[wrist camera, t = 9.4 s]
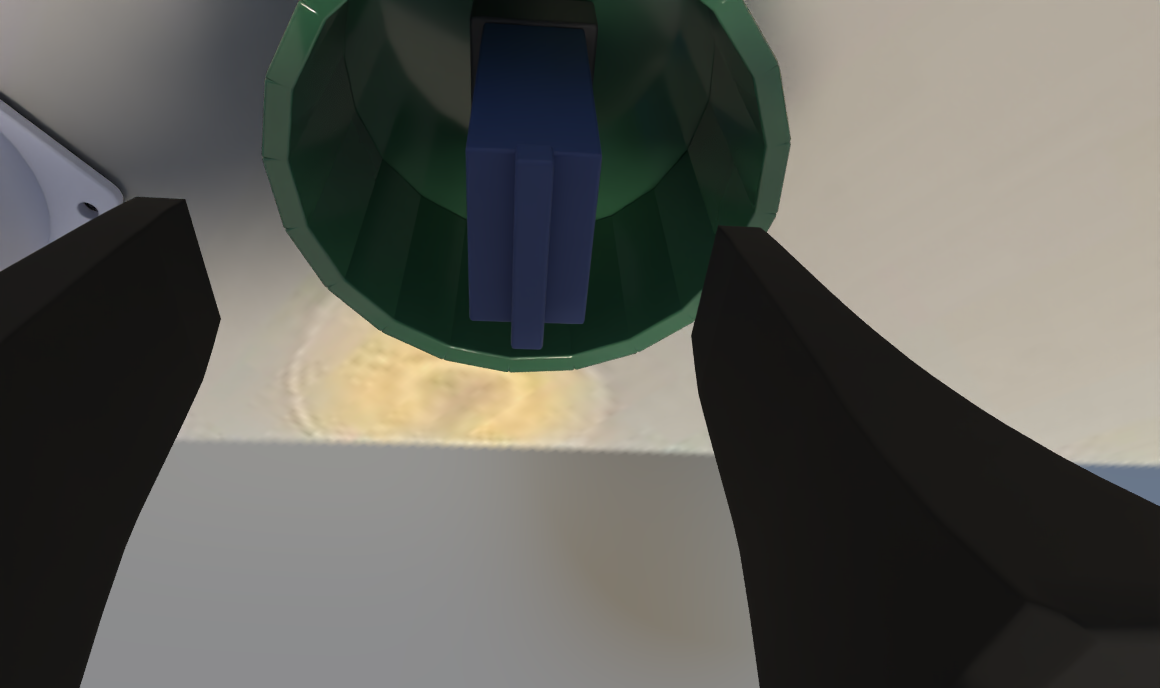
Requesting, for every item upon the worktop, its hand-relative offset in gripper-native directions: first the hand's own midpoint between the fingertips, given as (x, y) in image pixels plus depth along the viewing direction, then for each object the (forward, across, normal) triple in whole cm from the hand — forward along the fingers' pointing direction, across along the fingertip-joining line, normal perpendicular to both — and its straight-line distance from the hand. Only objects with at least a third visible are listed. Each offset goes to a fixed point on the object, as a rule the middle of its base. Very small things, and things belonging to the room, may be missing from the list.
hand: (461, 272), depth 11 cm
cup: (+10, -1, +1) cm, 10 cm away
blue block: (+10, -1, +1) cm, 10 cm away
